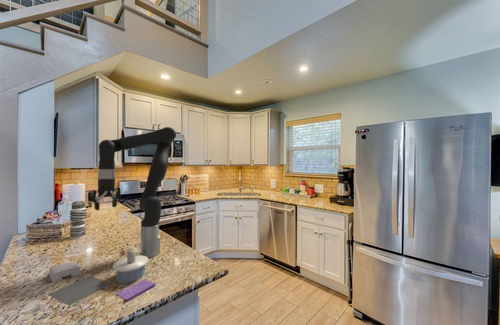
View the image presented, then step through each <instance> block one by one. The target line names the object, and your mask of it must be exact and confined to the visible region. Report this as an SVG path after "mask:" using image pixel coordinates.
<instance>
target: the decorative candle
mask: <svg viewBox="0 0 500 325" xmlns="http://www.w3.org/2000/svg"><path fill="white" fill-rule="evenodd" d="M69 215H70V216H69V217H70V218H69V220H70V228H69V229H70V230H69V239H70V240H79V239H78V238H80V239H83V238H85V237H86V236H85V235H86V227H87V226H86V220H87V217H86V216H87V207H86V202H85V201H84V200H77V201H73V202H72V203H71V209H70V211H69ZM84 236H85V237H84ZM82 237H83V238H82Z"/></svg>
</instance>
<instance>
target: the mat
mask: <svg viewBox="0 0 500 325" xmlns="http://www.w3.org/2000/svg"><path fill="white" fill-rule="evenodd" d="M111 285H112V282H111V283H110V282H108V281H105V280H103V279H100V278H98V277H95V276H92V275H90V276H87V277H85V278H83V279H79V280H78V281H75V282H73V283H70V284H68V285H66V286H64V287H61V288H59V289H57V290H54V291H53V292H50V293H48V294H47V295H48V296H50V297H51V298H54V299H55V300H59V301H60V302H62V303H64V304H66V305H68V306H71V305H73V304H75V303H78V302H79V301H82V300H83V299H85V298H87V297H89V296H91V295H93V294H95V293H97V292H99V291H101V290H103V289H104V288H107V287H109V286H111Z"/></svg>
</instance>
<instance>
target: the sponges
mask: <svg viewBox="0 0 500 325" xmlns="http://www.w3.org/2000/svg"><path fill="white" fill-rule="evenodd" d="M155 286H156V283H155V282H153V281H150V280H148V279H146V278H145V279H142V280H141V281H137V283H135V284H133V285H131V286H129V287H126V288H124V289H123V290H120V291H118V292H116V293H115V295H116V296H119V298H120V297H121V298H122V299H123V302H125V303H128V302H129V301H131V300H134V299H135V298H137V297H139V296H140V295H142V294H144V293H146V292H147V291H150V290H151V289H154V288H155Z"/></svg>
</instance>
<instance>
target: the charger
mask: <svg viewBox="0 0 500 325" xmlns="http://www.w3.org/2000/svg"><path fill="white" fill-rule="evenodd" d="M48 270H49V278H50V280H51V282H52V283H55V282H58V281H61V280H63V278H66V277H67V278H68V277H74V276H77V275H80V274H81V268H80V266H79V265H78V263H77V262H76V261H74V260H73V261H69V262H63V263H60V264H57V265H53V266H51V267H50V268H49V269H48Z"/></svg>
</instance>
